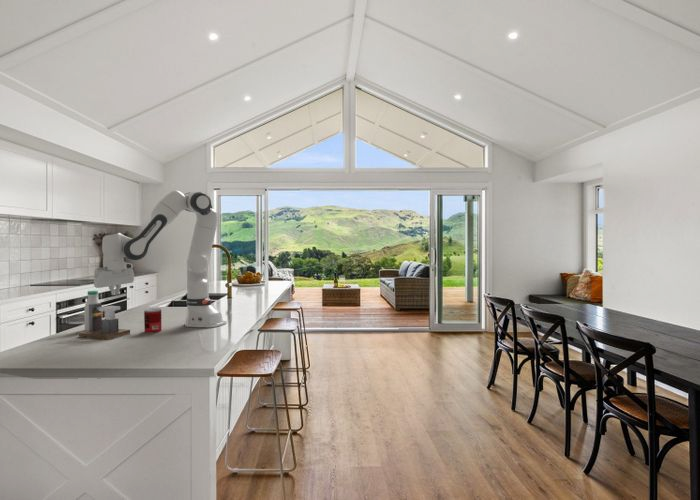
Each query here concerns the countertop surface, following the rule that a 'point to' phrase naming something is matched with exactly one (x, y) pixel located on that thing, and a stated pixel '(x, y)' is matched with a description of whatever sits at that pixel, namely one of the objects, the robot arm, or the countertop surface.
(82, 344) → the countertop surface
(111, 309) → the plunger
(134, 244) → the robot arm
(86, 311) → the milk bottle
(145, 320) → the canned food
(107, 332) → the stand
